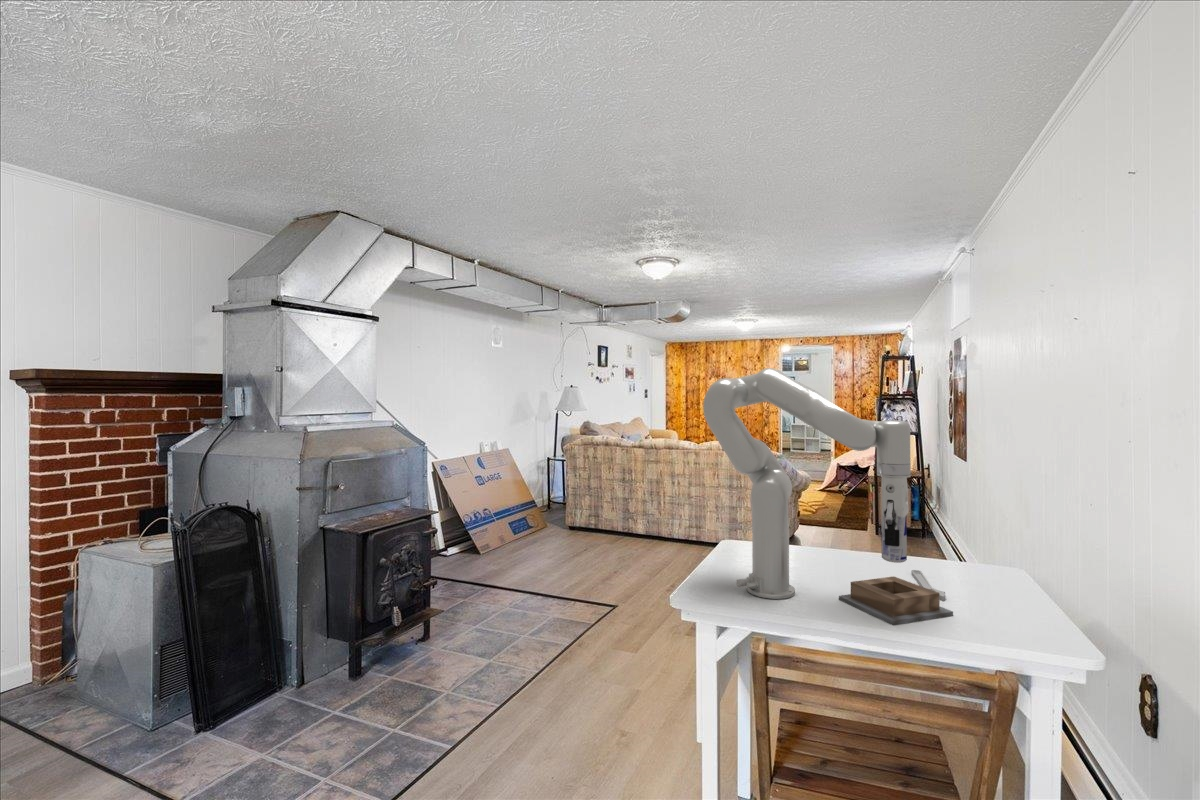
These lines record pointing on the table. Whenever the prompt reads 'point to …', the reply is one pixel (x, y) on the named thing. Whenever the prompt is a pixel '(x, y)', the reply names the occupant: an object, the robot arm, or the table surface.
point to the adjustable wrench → (925, 583)
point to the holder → (895, 600)
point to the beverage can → (895, 552)
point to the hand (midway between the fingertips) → (894, 542)
